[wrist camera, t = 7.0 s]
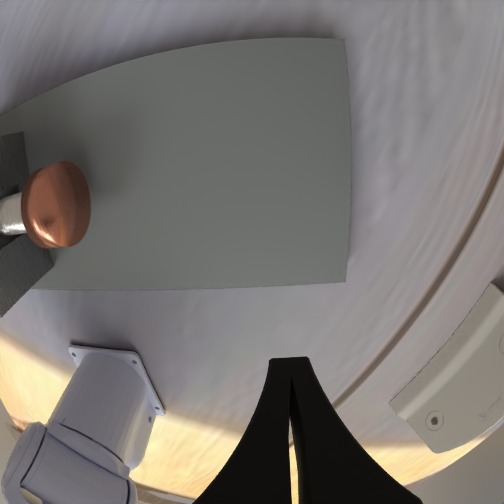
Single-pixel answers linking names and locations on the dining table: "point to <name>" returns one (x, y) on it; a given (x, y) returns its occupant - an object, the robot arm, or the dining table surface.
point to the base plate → (203, 166)
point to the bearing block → (20, 245)
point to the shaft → (49, 207)
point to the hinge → (460, 381)
